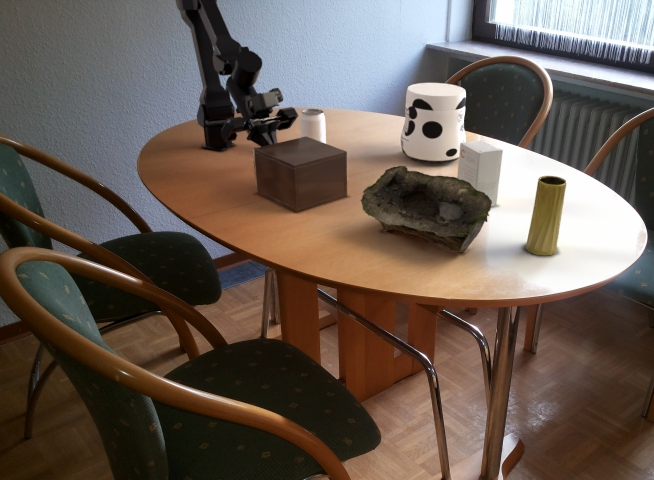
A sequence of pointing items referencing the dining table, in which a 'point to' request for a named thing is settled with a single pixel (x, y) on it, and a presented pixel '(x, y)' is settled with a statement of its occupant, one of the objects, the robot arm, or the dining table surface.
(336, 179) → the cabinet
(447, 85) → the milk container
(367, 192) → the grey rough hollow block
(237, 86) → the robot arm
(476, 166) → the small box
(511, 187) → the dining table surface
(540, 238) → the vase
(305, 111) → the can
